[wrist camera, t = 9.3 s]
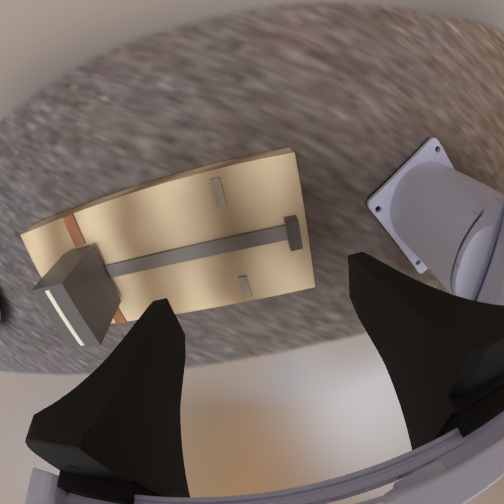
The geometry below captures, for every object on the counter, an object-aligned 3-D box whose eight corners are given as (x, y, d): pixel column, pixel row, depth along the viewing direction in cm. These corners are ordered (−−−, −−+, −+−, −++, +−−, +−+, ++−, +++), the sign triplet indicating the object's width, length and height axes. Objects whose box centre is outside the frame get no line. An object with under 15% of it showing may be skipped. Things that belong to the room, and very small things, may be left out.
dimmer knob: (93, 244, 18) (61, 284, 14) (121, 301, 21) (100, 346, 16) (63, 253, 19) (31, 291, 14) (92, 306, 21) (69, 348, 17)
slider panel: (289, 147, 18) (297, 155, 16) (309, 272, 23) (317, 295, 21) (32, 225, 20) (13, 240, 17) (80, 314, 25) (68, 335, 22)
